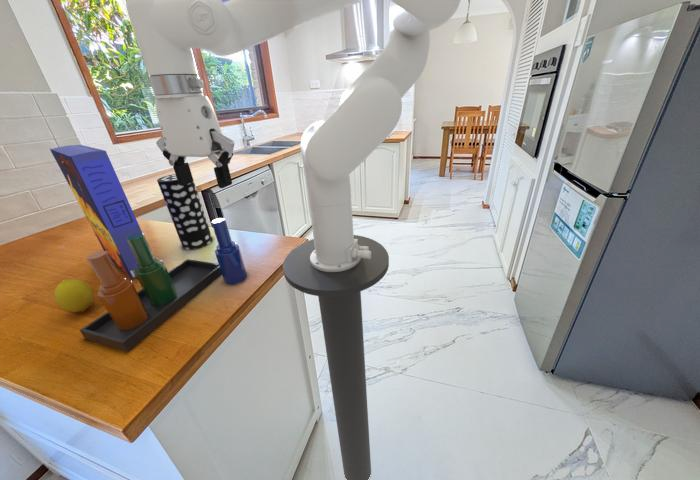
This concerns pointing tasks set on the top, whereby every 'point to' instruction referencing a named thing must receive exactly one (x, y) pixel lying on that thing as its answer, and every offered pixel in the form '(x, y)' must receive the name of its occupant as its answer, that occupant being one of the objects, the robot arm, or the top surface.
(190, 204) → the spotted tube
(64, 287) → the lemon
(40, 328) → the top surface
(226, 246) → the blue bottle
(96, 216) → the cereal box
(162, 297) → the green bottle
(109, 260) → the amber bottle
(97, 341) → the tray
